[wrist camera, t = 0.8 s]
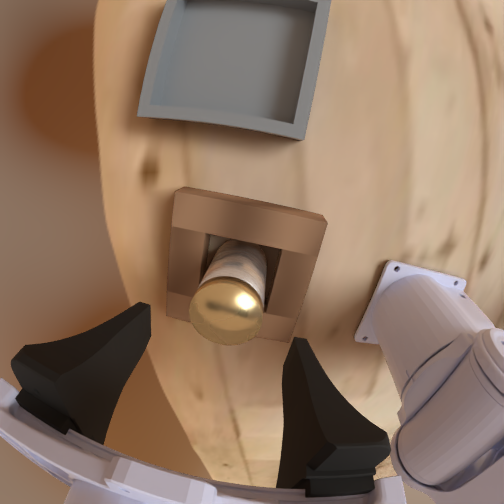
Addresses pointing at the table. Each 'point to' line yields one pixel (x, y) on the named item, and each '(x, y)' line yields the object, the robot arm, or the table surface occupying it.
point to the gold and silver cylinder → (231, 294)
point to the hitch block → (250, 230)
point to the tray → (236, 64)
